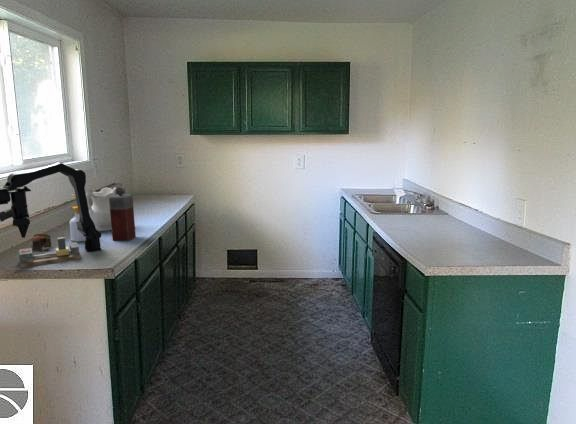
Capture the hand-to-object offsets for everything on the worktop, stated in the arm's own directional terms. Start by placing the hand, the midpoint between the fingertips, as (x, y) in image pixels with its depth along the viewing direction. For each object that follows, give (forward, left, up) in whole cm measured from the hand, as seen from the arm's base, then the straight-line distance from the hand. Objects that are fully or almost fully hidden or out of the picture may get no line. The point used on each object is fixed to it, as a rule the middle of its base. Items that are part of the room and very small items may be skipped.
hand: (23, 237), depth 197 cm
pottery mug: (-7, -25, -12) cm, 29 cm away
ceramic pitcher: (-41, -52, -12) cm, 67 cm away
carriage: (-15, 0, -10) cm, 18 cm away
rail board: (-10, 0, -12) cm, 16 cm away
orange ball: (0, 0, -9) cm, 9 cm away
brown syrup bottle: (-47, -23, -12) cm, 53 cm away
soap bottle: (-26, -33, -12) cm, 43 cm away
